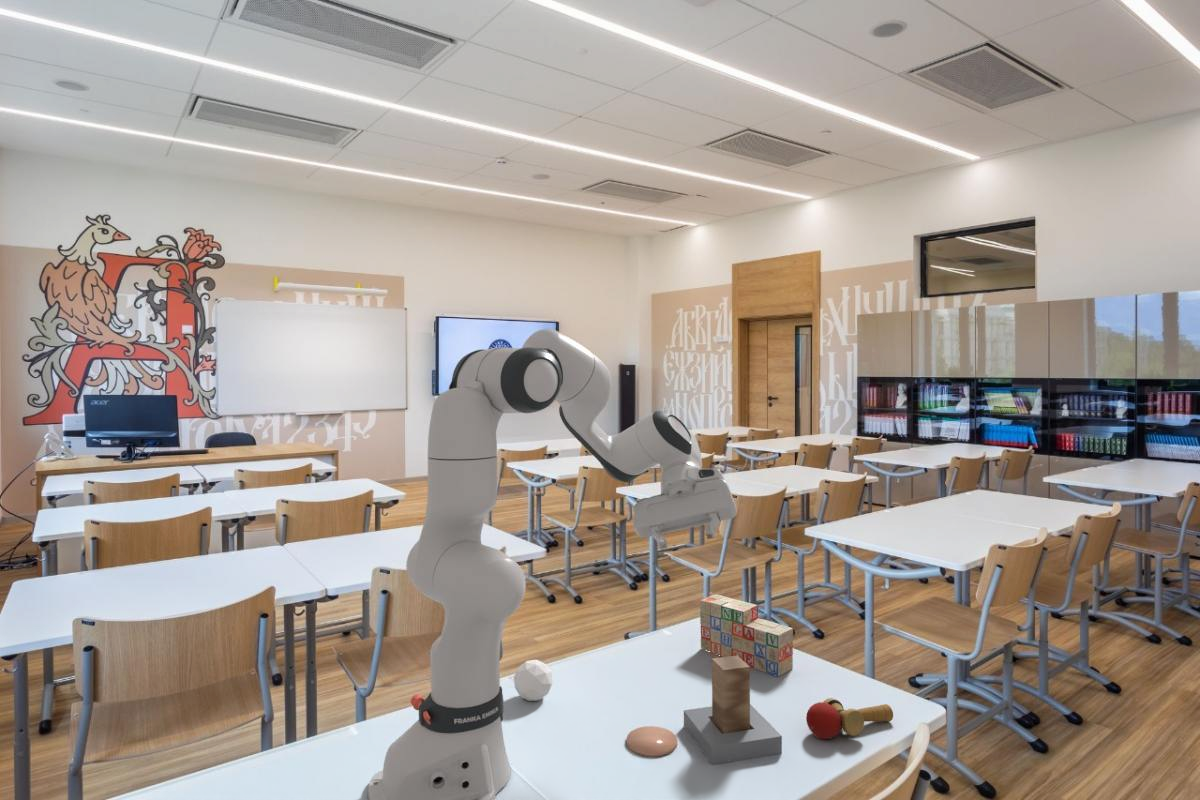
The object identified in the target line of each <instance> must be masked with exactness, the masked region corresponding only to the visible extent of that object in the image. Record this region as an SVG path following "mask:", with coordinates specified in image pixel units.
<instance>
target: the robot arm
mask: <svg viewBox="0 0 1200 800" xmlns="http://www.w3.org/2000/svg"><path fill="white" fill-rule="evenodd" d="M451 376H452V377H451V382H450V384H449V385H448V390H445V391H443V392H441V393H440V394H438V396H437V397H436V398H435V399H434V402H433V405H432V410H431V414H430V415H431V416H430V421H429V428H428V438H427V502H426V509H425V515H424V520H423V525H422V529H421V532H420V536H419V538H418V541H416V542H415V544H414V545H413V546H412V548H411V549H410V551H409V553H408V554H407V555H408V556H407V559H406V574H407V577H408V578H409V581H410V582H411V583H412V584H413V586H414V587H415V588H416V589H417V590H418V592H420V593H421V594H422V595H423V596H425V597H426V598H428V599H431V600H432V601H435V602H436V603H439V604H441V605H442V607H443V610H444V620H443V621H444V623H443V628H442V631H441V635H440V636H438V637H437V638H436V639H435V640H434V641H433V643H432V645H431V647H430V652H429V655H430V657H429V658H430V659H429V660H430V661H429V662H430V663H429V665H430V693H429V694H428V696H427V697H426V698H424V696H423V695H422V694H421V693H415V694H414V695H412V697H411V698H410V704H411V706H412V707H413V709H414V710H415V711H418V720H417V721H415V723H413V724H412V725H411V726H410V727H409V728H408V729H406V731H404V732H403V734H401V735H400V736H399V737H398V738H397V739H395V741H394V742H392V743H391V745H389V747H388V748H387V751H386V753H385V756H384V761H383V768H382V770H380V771H378V772H376V773H374V774H373V776H372V777H371V779H370V781H369V784H368V788H367V790H368V791H367V796H368V797H367V798H368V799H369V800H495V798H496V795H497V794H498V793H499V792H500V791H501V790H503V788H504V787H505V786H506V785H507V784H508V782H509V781H510V778H511V775H512V767H511V764H510V761H509V758H508V754H507V751H506V750H507V749H506V746H505V745H506V744H505V740H504V732H503V725H502V722H503V720H504V695H503V688H502V686H501V683H500V682H501V681H500V679H501V678H500V655H501V654H500V652H501V651H500V648H501V639H502V637H503V636H502V635H503V633H504V628H505V625H506V622H507V620H508V618H510V617H511V616H512V615H513V614H514V613H516V611H517V610H518V609H519V607H520V606H521V604H522V602H523V599H524V596H525V594H526V584H527V583H526V582H527V581H526V576H525V573H524V570H523V568H522V567H521V566H520V565H519V564H518V563H517V562H516V561H515V560H514V559H513V558H511V557H510V556H509V555H507V554H506V553H505V552H503V551H502V550H500V549H497V548H495V547H491V546H488V545H485V544H482V538H481V537H482V530H483V527H484V523H485V520H486V518H487V515H488V513H490V512H492V510H494V508H495V506H496V505H497V502H498V443H497V442H498V441H497V429H498V425H499V423H500V420H501V418H502V416H503V414H518V413H522V414H531V413H532V414H533V413H538V412H540V411H542V410H545V409H547V408H548V407H549V406H551V404H552V403H554V402H555V401H557V403H559V407H558V413H559V416H560V419H561V421H562V423H563V425H564V426H565V427H566V429H567V430H568V432H570V434H571V435H572V436H573V437H574V438H575V439H576V440H577V441H578V442H579V443H580V444H581V445H582V446H583V447H584V448H585V449H586V450H587V451H588V452H589V453H590V454H591V455H592V456H593V457H595V459H596V461H598V462H599V463H600V465H601V466H602V468H603V470H605V473H607V474H608V476H609V477H611V478H612V479H614V480H616V481H619V482H623V483H631V482H633V481H634V480H635V479H637V478H638V477H640V476H641V475H643V473H645V472H647V471H648V470H650V469H652V468H653V467H655V466H657V465H659V466H660V471H661V474H660V494H656V495H652V496H650V497H643V498H641V499H640V501H638V502H636V503H635V504H634V506H633V513H634V516H633V521H632V522H633V524H632V526H633V529H634V531H635V533H636V535H637V536H638V537H640V538H641V539H646V538H651V537H653V538H654V540H655V541H656V545H657V548H658V549H659V550H663V549H667V548H668V546H667V545H668V541H667V539H666V537H665V535H663V534H668V533H673V532H677V531H681V530H686V529H690V528H691V529H692V528H694V527H699V526H703V525H705V526H704V529H705V536H706V538H707V539H709V540H711V539H714V538H716V537H717V536H716V531H717V529H718V528H719V526H720V525H721V521H722V522H723V521H726V520H731V519H734V518H735V517H736V516H737V515H738V508H737V505H736V502H735V500H734V497H733V494H732V491H731V489H730V487H729V484H728V483H727V481H726V479H725V477H724V475H723V473H722V471H721V470H720V469H719V468H703V460H702V454H701V449H700V446H699V442H698V440H697V438H696V436H695V435H694V433H693V432H692V431H691V430H689V429H688V428H687V426H686V424H684V422H683V421H682V420H680V418H678V416H676V415H674V414H672V413H669V412H666V411H662V410H655V411H653V412H652V413H650V414H648V415H647V416H645V417H644V418H642V419H640V420H639V421H637V422H636V423H634V424H632V425H631V426H629V427H628V428H626V429H625V430H622V431H621V432H619V433H616V434H613V435H608V434H607V432H605V431H604V430H603V429H602V427H600V426H599V424H598V423H597V422H596V419H597V417H598V416H599V415H600V414H601V412H602V411H603V410H604V409H605V407H606V406H607V404H608V402H609V400H610V397H611V393H612V388H613V381H612V379H613V378H612V374H611V372H610V370H609V368H608V367H607V365H606V364H605V363H604V362H603V361H602V360H601V358H599V357H598V356H597V355H595V354H594V352H592V351H590V350H589V349H588V348H586V346H584V345H582V344H581V343H579V342H578V341H577V340H575V339H574V338H571V337H569V336H568V335H566V334H564V333H562V332H560V331H558V330H555V329H551V328H542V329H539V330H537V331H535V332H533V333H532V334H531V335H530V336H529V337H528V338H527V339H526V340H525V342H524V343H523V345H522V347H507V346H500V347H499V346H498V347H493V348H491V347H490V348H488V349H476V350H473V351H471V352H469V353H467V354H465V355H464V356H463V357H461V359H460V360H459V361H458V362H457V364H456V366H455V368H454V370H453V373H452V375H451ZM708 524H709V525H708ZM706 525H707V526H706Z"/></svg>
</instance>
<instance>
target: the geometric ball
mask: <svg viewBox="0 0 1200 800" xmlns="http://www.w3.org/2000/svg"><path fill="white" fill-rule="evenodd" d="M513 682H514V689H515V690H516V692H517V694H518V696H519V697H520V698H522V699H524V700H527V701H528V702H536V701H540V700H541V699H543V698H544V697H546V696H547V695H548V694H549V692H550V690H551V688H552V685H553V674H552V672H551V670H550V668H549V667H548V666H547V664H546V663H544V662H542V661H541V660H539V659H532V660H531V659H530V660H526V661H525V662H524V663H522V664H521V665H519V666H518V667H517V670H516V672H515V673H514V676H513Z"/></svg>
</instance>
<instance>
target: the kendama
mask: <svg viewBox="0 0 1200 800" xmlns="http://www.w3.org/2000/svg"><path fill="white" fill-rule="evenodd" d="M805 719H806V724H807V727H808V730H810V732H811V733H812V734H813V735H814V736H815V737H816V738H817V739H821V740H822V739H823V740H829V739H832V738H835V737H836V736H837V735H838V734H839V732H840V731H841V729H842V730H843V732H844V733H846V734H847V735H850V736H855V737H856V736H859V734H860V733H862V732H863V729H864V727H865V722H891V721H892V720H893V719H894V711H893V709H892V707H891V706H890V705H889V704H887V703H885V704H880V705H875V706H870V707H869V706H868V707H862V708H858V709H856V708H848V709H844V706H843V704H842V702H841V701H840V700H838V699H835V698H833V697H829V698H825V700H823V701H822V702H821V701H819V702H815V703H814V704H812V705H810V707H809V708H808V709H807V713H806V717H805Z"/></svg>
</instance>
